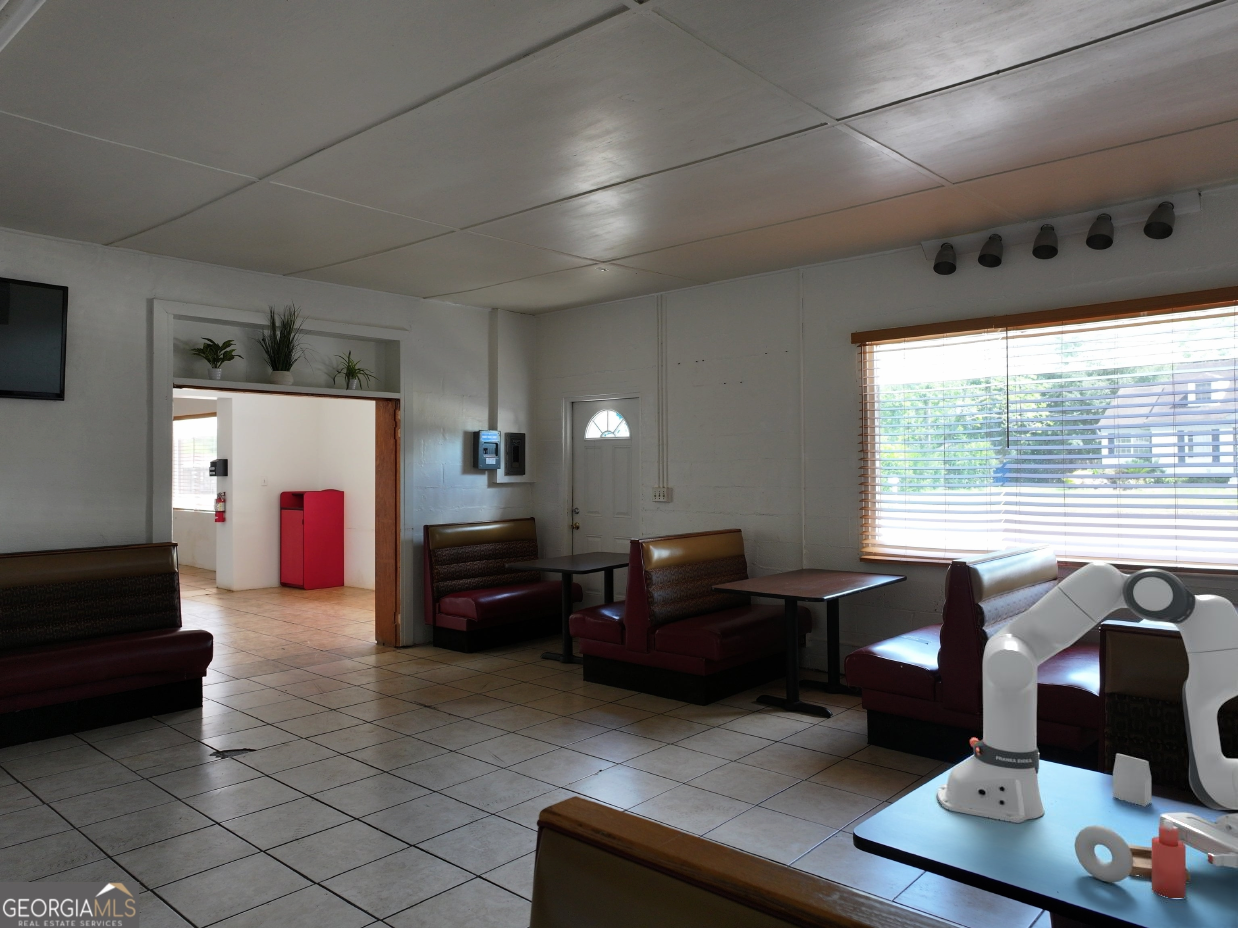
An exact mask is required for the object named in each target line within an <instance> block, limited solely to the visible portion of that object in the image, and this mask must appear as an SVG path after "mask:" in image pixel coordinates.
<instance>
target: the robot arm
mask: <svg viewBox="0 0 1238 928" xmlns="http://www.w3.org/2000/svg"><path fill="white" fill-rule="evenodd" d="M1122 608H1123V609H1125V608H1126V609H1128V610H1129V611H1132V613H1133V614H1135V615H1136V616H1137V617H1139V618H1141V619H1143V620H1145V621H1150V622H1157V623H1158V622H1162V623H1168V624H1172V625H1174V626H1175V627H1176V628H1177V629H1178V631H1179V633H1180V635H1181V637H1182V640H1183V644H1184V646H1185V647H1184V648H1185V650H1186V654H1187V658H1188V664H1189V665H1188V667H1189V668H1188V669H1189V670H1188V677H1187V679H1186V680H1185V681H1184V682H1183V686H1182V695H1181V696H1182V698H1181V699H1182V707H1183V709H1182V710H1183V715H1184V723H1185V730H1186V731H1185V732H1186V738H1187V740H1186V741H1187V746H1188V748H1187V749H1188V755H1189V756H1188V757H1189V765H1188V766H1189V767H1188V781H1189V786H1190V788H1191V790H1192V791H1193V793H1194V795H1195V796H1196V797H1197V798H1198V800H1199V801H1200V802H1202V804H1204V805H1205V806H1207V807H1208V808H1211V809H1213V810H1217V811H1218V810H1219V811H1220V810H1223V811H1224V810H1228V811H1229V810H1233V811H1234V810H1238V758H1229V757H1228V758H1227V757H1226V756H1224V754H1223V752H1222V746H1221V740H1220V733H1219V732H1220V731H1219V725H1218V713H1219V712H1218V711H1219V709H1220V708H1221V706H1222V705H1224V703H1225V702H1227V701H1229V700H1231V699H1233V698H1235V697H1237V696H1238V611H1237V610H1236V608H1235V606H1234V604H1233V603H1232V602H1231V601H1230V600H1229V599H1227V598H1225V597H1223V596H1219V595H1216V594H1199V595H1198V594H1197V595H1195V594H1194V593H1193V592H1192V591H1190V589H1189V588H1187V586H1185V585H1184V584H1183V582H1182V581H1181V580H1180V579H1179V578H1178V577H1177V576H1176V575H1175V574H1173V573H1171V572H1169V571H1167V570H1165V569H1164V570H1163V569H1160V568H1145V569H1140V570H1138V571H1136V572H1134V573H1132V574H1131V573H1130V574H1126V573H1123V572H1121V571H1120V570H1119V569H1118V568H1116V567H1115V566H1113V565H1112V564H1109V563H1108V562H1105V561H1101V560H1099V561H1098V560H1097V561H1096V560H1095V561H1091V562H1089V563H1087V564H1086V565H1083V566H1082V567H1080V568H1079V569H1078V570H1075V571H1074V572H1073V573H1071V574H1070V575H1068V576H1067V577H1065V578H1064V579H1063V580H1062V581H1060V582H1059V583H1058V584H1057V585H1056V586H1054V587H1053V588H1052V589H1051V590H1049V592H1047V593H1046V594H1045V595H1044V596H1043V597H1041V598H1040V599H1039V600H1038V601H1036V603H1034V604H1033V605H1032V606H1031V607H1030V608H1028V609H1027V610H1025V611H1024V612H1022V613H1021V614H1020V615H1019V616H1017V617H1015V618H1014V619H1013V620H1012V621H1010V622H1009V623H1007V624H1006V625H1005V626H1003V627H1002V628H1001V629H1000V630H999V631H997V632H996V633H995V634H993V635H992V636H991V637H990V638H989V639H988V640H987V642H986V645H985V647H984V651H983V657H982V705H983V706H982V708H983V710H982V712H983V713H982V714H983V715H982V717H983V718H982V720H983V722H982V723H983V725H982V727H983V729H982V731H983V734H982V735H983V737H982V739H981V740H979V739H978V738H976V737H971V739H969V744H970V746H971V747H972V748H973V755H972V756H971V757H969V758H967V759H966V760H964V761H962V762H960V763H959V764H956V765H954V767H952V769H951V770H950V772H949V775H948V778H947V783H946V784H943V785H940V786H939V787H938V789H937V791H936V792H937V793H936V798H937V801H938V800H939V801H938V803H939V802H940V803H941V804H942V805H941V804H940V803H939V804H940V805H941V806H942V807H943V806H944V807H945V809H946V810H948V809H949V810H948V811H950V812H951V811H952V812H957V813H962V814H968V815H972V816H977V817H978V816H979V817H983V818H988V817H989V818H988V819H994V820H999V819H1000V821H1004V820H1005V822H1009V821H1011V822H1010V823H1015V824H1019V823H1023V822H1025V821H1027V820H1031V819H1036V818H1040V817H1041V816H1043V815H1044V814H1045V808H1044V806H1043V805H1044V804H1043V802H1042V801H1043V800H1042V798H1041V792H1040V787H1039V780H1038V778H1039V777H1038V774H1039V770H1040V752H1039V748H1038V746H1037V714H1038V713H1037V710H1038V709H1037V708H1038V707H1037V706H1038V667H1039V666H1040V665H1042V664H1043V663H1044V662H1046V661H1047V660H1049V659H1050V658H1052V657H1054V656H1055V655H1056V654H1058V653H1059V652H1061V651H1063V650H1064V649H1067V648H1069V647H1070V646H1071V645H1073V644H1074V643H1075V642H1076V641H1078V640H1079V639H1080V638H1082V637H1083V636H1084V635H1085V634H1086V633H1087V632H1088V631H1090V630H1091V629H1093V628H1094V627H1095V626H1096V625H1097V624H1098V623H1099V622H1101V621H1102V620H1103V619H1104V618H1106V617H1107V616H1108V615H1109V614H1111V613H1112V612H1114V611H1117V610H1118V609H1122ZM944 807H943V808H944ZM1164 820H1171V821H1173V828H1175V829H1177V830H1178V841H1180V842H1182V843H1183V844H1184V845H1185V846H1189V847H1190V848H1193V849H1194V850H1196V851H1199V852H1201V853H1203V854H1206V855H1207V862H1208V863H1210V864H1211V865H1213V866H1214V867H1221V866H1223V867H1229V868H1236V869H1238V812H1236V813H1230V814H1223V815H1220V816H1218V817H1217V819H1215V821H1214V822H1213V821H1211V820H1208V819H1206V818H1204V817H1201V816H1199V815H1197V814H1194V813H1190V812H1184V811H1183V812H1182V811H1181V812H1165V813H1161V814H1160V815H1159V819H1158V827H1159V826H1164Z"/></svg>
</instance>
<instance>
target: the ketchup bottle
mask: <svg viewBox="0 0 1238 928" xmlns="http://www.w3.org/2000/svg"><path fill="white" fill-rule="evenodd" d="M1186 846H1187V845H1186V844H1184V843H1182V842H1180V841H1178V830H1177V829H1175V828H1173V821H1171V820H1164V826H1159V825H1158V836H1154V837H1152V838H1151V848H1152V878H1151V887H1152V888H1151V891H1152V890H1153V891H1154V892H1153V891H1152V892H1153V893H1155V892H1156V893H1157V894H1156V893H1155V894H1156V895H1158V894H1160V895H1162V896H1165V897H1168V898H1167V899H1169V898H1184V897H1185V896H1186V889H1187V888H1186V887H1187V886H1186V885H1187V884H1186V869H1187V868H1186V867H1187V865H1186V861H1187V860H1186V857H1187V856H1186V854H1187V853H1186V849H1187V848H1186ZM1160 895H1159V896H1160ZM1162 896H1161V897H1162ZM1165 897H1164V898H1165ZM1186 897H1187V896H1186ZM1186 897H1185V898H1186ZM1185 898H1184V899H1185Z"/></svg>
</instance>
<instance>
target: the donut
mask: <svg viewBox="0 0 1238 928" xmlns="http://www.w3.org/2000/svg"><path fill="white" fill-rule="evenodd" d="M1098 845H1101V846H1103V847H1105V848H1107V849H1108V851H1109V852H1110V854H1111V861H1109V862H1104V861H1103V860H1102V859H1100V858H1099V857H1098V855H1097V854H1096V852H1095V848H1096V846H1098ZM1128 845H1129V844H1128V843H1127V841H1125V840H1124V838H1123V837H1122V836H1121V835H1119V834H1118V833H1117V832H1116V831H1114V830H1112V829H1111V828H1109V827H1106V826H1102V825H1097V824H1095V825H1088V826H1086V827H1083V828H1082V829H1081V830H1080V831H1079V832H1078V834H1077V835H1076V837H1075V840H1074V851H1075V855H1076V858H1077V860H1078V863H1080V865H1081V866H1082V867H1083V869H1084V870H1085V871H1086V872H1087V873H1088V874H1090V875H1091V876H1092V877H1094V878H1096V879H1098V880H1100V881H1102V882H1106V883H1111V884H1112V883H1118V882H1122V881H1123V880H1126V879H1127V878H1128V876H1130V875H1129V874H1130V872H1131V871H1132V867H1133V857H1132V853H1131V851H1130V849H1129V846H1128Z"/></svg>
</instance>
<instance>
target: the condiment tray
mask: <svg viewBox="0 0 1238 928" xmlns="http://www.w3.org/2000/svg"><path fill="white" fill-rule="evenodd" d="M1127 845H1128V846H1129V849H1130V851H1131V853H1132V857H1133V867H1132V871H1131V872H1130V874H1129V875H1128V876H1132V875H1139V876H1143V877H1142V878H1147V877H1151V878H1150V879H1152V846H1149V847H1148V846H1142V845H1134V844H1127ZM1139 876H1138V877H1139ZM1186 882H1188V883H1187V884H1191V873H1190V872H1189V870H1188V869H1187V868H1186Z"/></svg>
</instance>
